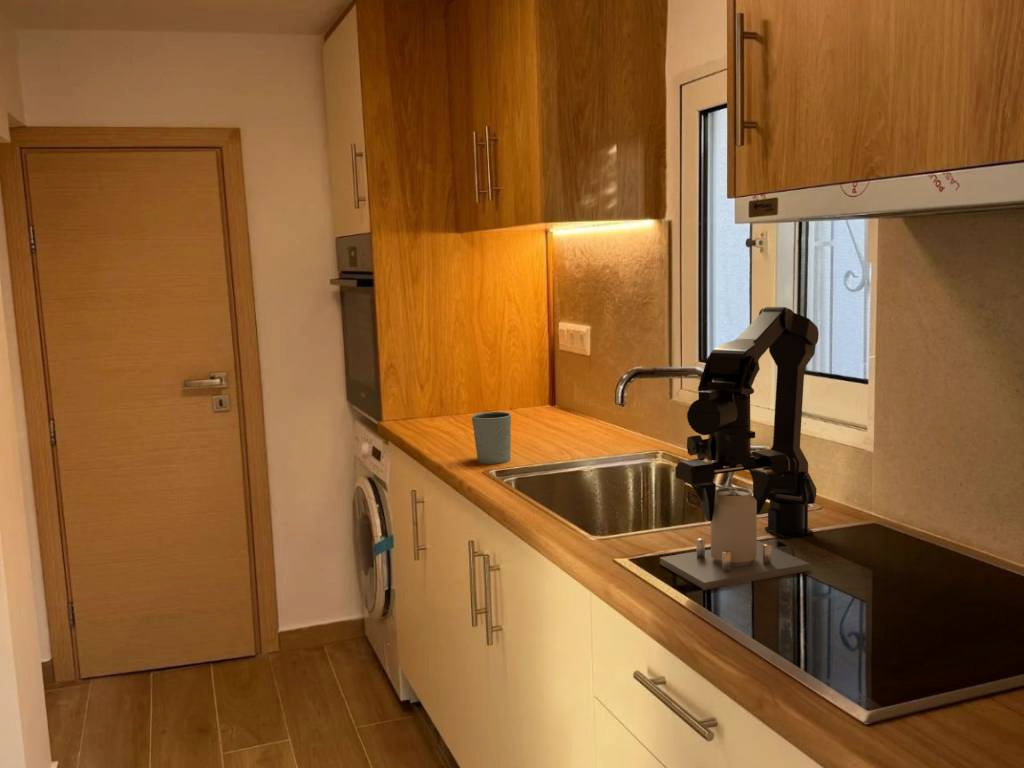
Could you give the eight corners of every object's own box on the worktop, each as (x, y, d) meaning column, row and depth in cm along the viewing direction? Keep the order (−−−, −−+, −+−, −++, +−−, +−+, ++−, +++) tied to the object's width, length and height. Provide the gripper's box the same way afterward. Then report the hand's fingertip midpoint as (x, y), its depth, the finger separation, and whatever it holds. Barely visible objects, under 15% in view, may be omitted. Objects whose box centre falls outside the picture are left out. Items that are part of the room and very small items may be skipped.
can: (711, 567, 160) (711, 496, 158) (709, 552, 167) (709, 484, 166) (758, 568, 159) (758, 496, 157) (754, 553, 166) (754, 484, 164)
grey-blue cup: (516, 462, 249) (514, 416, 247) (477, 466, 247) (475, 419, 245) (508, 454, 258) (506, 410, 257) (470, 458, 256) (468, 413, 255)
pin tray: (759, 547, 173) (759, 523, 173) (809, 570, 160) (809, 544, 160) (660, 564, 166) (659, 539, 166) (704, 590, 153) (704, 563, 153)
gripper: (751, 412, 171) (752, 498, 173) (657, 422, 164) (659, 512, 166) (791, 421, 160) (791, 514, 162) (693, 433, 154) (694, 529, 156)
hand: (733, 516), depth 162 cm, fingers open, 9 cm apart
